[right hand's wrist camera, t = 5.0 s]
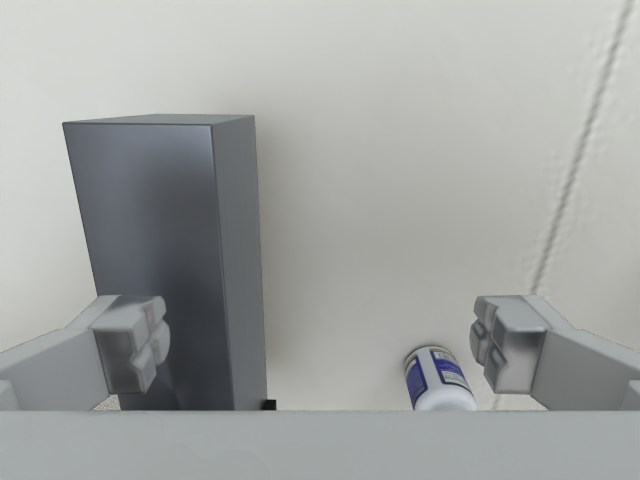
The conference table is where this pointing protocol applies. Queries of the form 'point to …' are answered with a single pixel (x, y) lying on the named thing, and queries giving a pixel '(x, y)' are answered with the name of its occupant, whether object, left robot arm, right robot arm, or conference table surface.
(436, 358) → the pill bottle
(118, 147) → the bar
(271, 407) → the left robot arm
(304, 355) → the conference table surface
